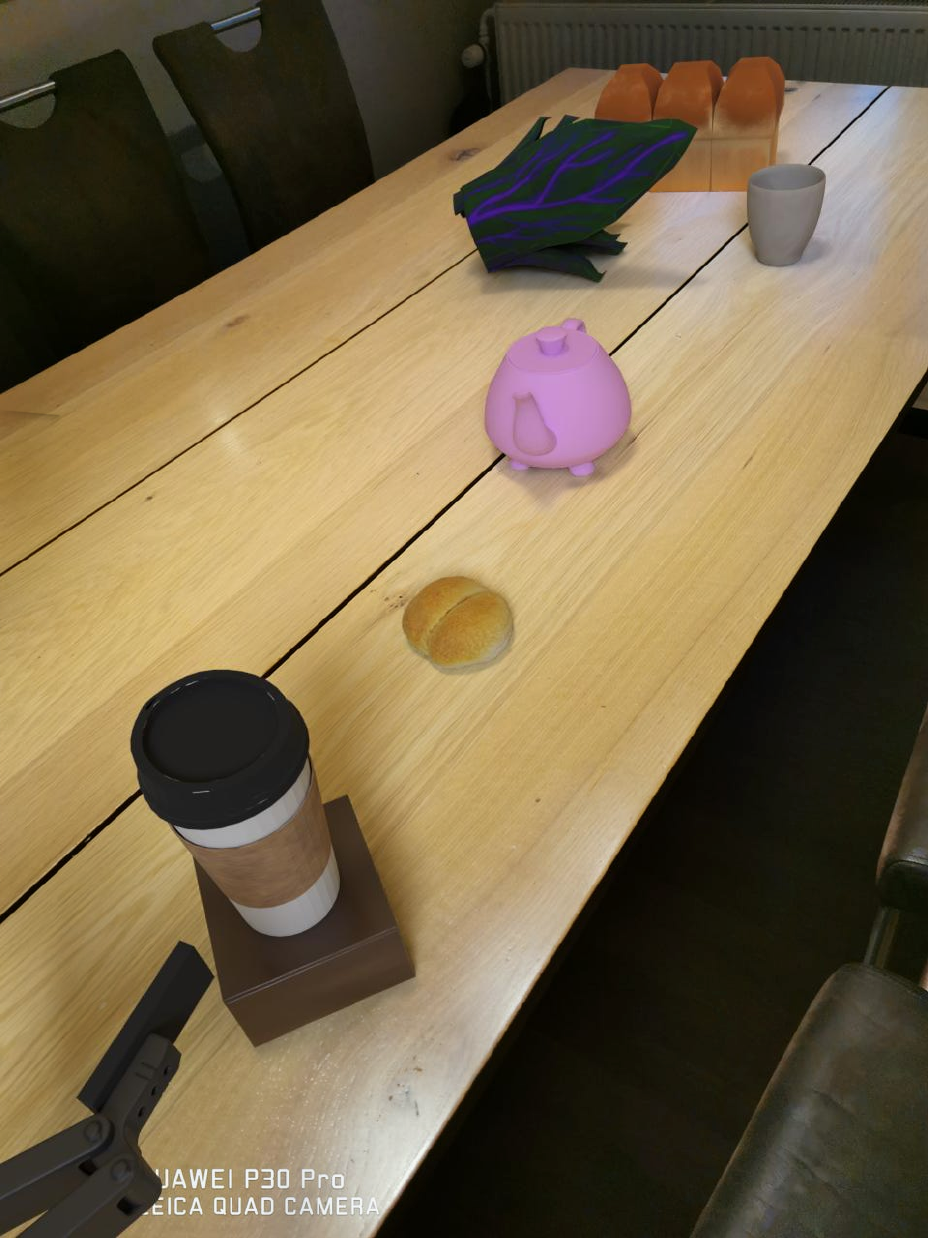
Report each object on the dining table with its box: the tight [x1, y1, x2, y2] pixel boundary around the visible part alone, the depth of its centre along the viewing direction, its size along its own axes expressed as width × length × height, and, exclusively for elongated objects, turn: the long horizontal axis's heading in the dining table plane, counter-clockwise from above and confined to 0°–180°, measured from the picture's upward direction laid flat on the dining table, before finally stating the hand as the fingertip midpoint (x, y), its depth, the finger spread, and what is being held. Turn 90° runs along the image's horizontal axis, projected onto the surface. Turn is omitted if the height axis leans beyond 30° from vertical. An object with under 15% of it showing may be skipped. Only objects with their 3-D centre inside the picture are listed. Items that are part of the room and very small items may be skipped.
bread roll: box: [401, 575, 514, 670], centre depth 76 cm, size 8×9×4 cm
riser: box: [192, 793, 416, 1048], centre depth 57 cm, size 10×10×6 cm
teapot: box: [483, 317, 633, 477], centre depth 90 cm, size 20×14×12 cm
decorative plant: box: [452, 114, 698, 283], centre depth 118 cm, size 21×26×30 cm
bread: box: [593, 56, 786, 193], centre depth 137 cm, size 25×12×15 cm, turn 71°
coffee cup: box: [129, 669, 340, 937], centre depth 50 cm, size 8×8×15 cm
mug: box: [746, 163, 827, 267], centre depth 117 cm, size 12×9×10 cm
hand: (74, 909), depth 42 cm, fingers open, 13 cm apart
